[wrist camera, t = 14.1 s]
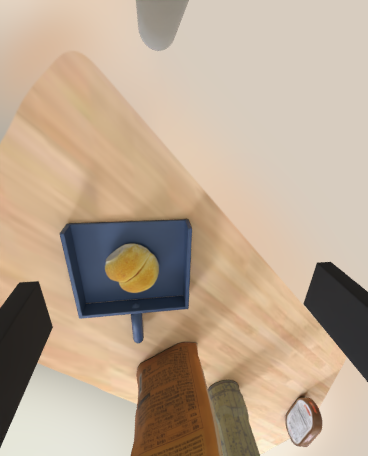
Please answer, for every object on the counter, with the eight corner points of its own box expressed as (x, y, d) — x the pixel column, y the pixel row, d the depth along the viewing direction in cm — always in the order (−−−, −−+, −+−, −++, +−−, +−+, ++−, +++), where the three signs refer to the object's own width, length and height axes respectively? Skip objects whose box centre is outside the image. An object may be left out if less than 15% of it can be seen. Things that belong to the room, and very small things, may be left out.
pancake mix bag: (119, 368, 53) (96, 593, 28) (192, 329, 51) (236, 536, 26) (137, 381, 56) (130, 595, 31) (206, 345, 54) (258, 544, 29)
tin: (288, 419, 76) (304, 453, 68) (280, 419, 75) (294, 454, 67) (309, 391, 70) (329, 424, 62) (300, 391, 69) (319, 425, 61)
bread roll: (133, 291, 44) (132, 307, 40) (98, 261, 40) (93, 275, 36) (169, 267, 42) (171, 281, 39) (136, 233, 38) (135, 245, 35)
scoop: (66, 223, 37) (59, 233, 33) (188, 219, 39) (192, 228, 36) (91, 337, 48) (87, 353, 45) (184, 328, 50) (186, 342, 47)
